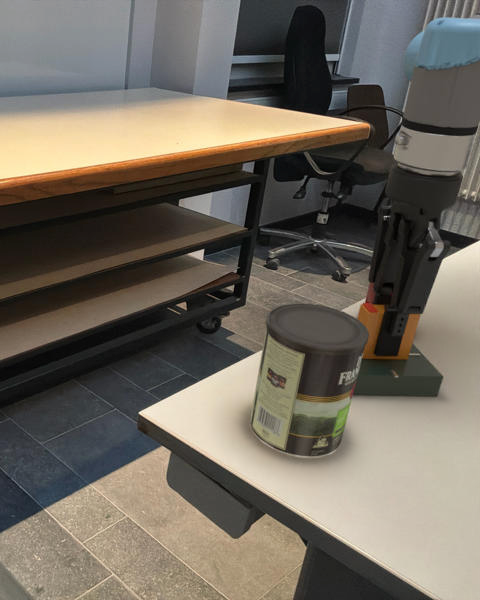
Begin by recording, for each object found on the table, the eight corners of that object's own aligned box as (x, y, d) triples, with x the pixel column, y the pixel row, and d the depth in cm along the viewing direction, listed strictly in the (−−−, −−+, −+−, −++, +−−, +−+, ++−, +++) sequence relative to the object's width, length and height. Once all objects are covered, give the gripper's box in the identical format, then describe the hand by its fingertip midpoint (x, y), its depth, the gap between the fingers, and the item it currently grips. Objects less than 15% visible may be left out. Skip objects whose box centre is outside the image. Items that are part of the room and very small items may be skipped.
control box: (399, 357, 93) (406, 334, 91) (437, 402, 83) (445, 377, 82) (313, 355, 93) (318, 332, 91) (341, 400, 83) (348, 375, 82)
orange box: (399, 349, 88) (412, 303, 85) (407, 359, 85) (421, 312, 83) (349, 348, 88) (360, 302, 85) (357, 358, 85) (368, 311, 82)
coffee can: (350, 426, 78) (378, 318, 72) (328, 475, 71) (356, 359, 64) (264, 396, 83) (283, 293, 77) (234, 439, 75) (252, 328, 69)
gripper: (367, 149, 83) (329, 319, 93) (428, 186, 69) (376, 381, 79) (427, 151, 83) (383, 320, 93) (500, 188, 69) (439, 382, 79)
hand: (380, 347), depth 86 cm, fingers closed on orange box, 3 cm apart
